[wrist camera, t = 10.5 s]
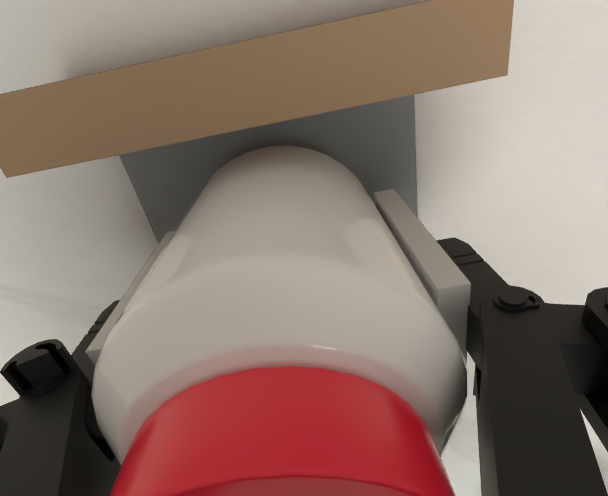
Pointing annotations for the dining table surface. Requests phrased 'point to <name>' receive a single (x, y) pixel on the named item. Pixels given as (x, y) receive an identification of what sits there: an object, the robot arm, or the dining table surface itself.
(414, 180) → the track
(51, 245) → the dining table surface
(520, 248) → the dining table surface
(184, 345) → the pill bottle
